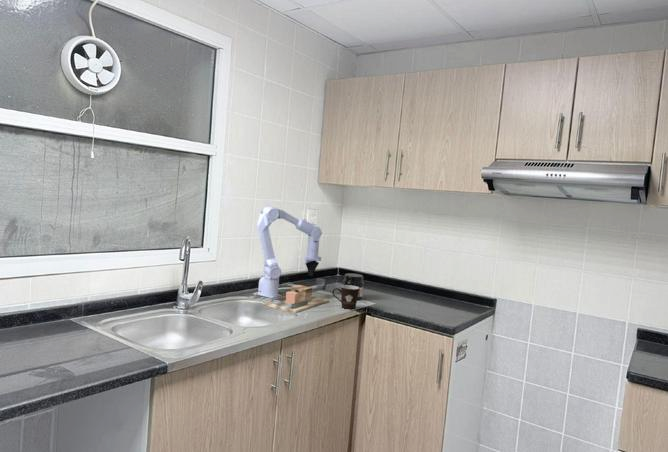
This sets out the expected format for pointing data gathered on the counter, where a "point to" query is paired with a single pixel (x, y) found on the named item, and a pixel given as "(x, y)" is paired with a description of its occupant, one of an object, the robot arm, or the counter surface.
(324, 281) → the shaft
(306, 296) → the stand
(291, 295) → the block
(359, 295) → the supplement container
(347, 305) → the coffee mug
